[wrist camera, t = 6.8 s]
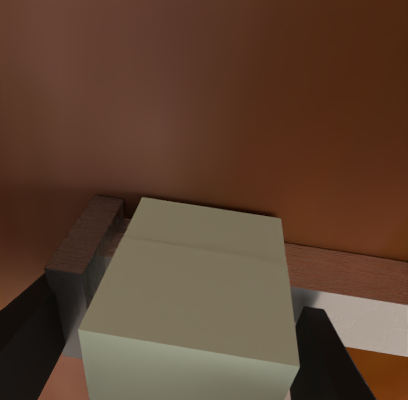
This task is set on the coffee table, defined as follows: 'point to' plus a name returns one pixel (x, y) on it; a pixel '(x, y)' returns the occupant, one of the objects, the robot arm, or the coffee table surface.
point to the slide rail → (298, 277)
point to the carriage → (192, 309)
